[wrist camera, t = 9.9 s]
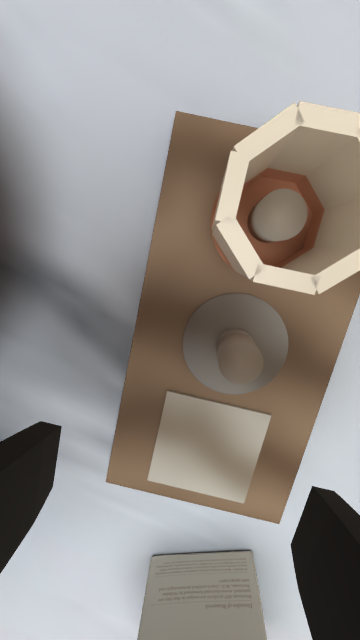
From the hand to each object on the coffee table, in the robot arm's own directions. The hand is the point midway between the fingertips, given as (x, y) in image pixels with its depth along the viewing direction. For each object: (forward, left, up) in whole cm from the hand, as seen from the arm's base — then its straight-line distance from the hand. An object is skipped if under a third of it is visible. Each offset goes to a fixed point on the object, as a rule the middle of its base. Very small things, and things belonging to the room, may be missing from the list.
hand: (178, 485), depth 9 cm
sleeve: (+8, -2, -9) cm, 12 cm away
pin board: (+2, -2, -10) cm, 11 cm away
